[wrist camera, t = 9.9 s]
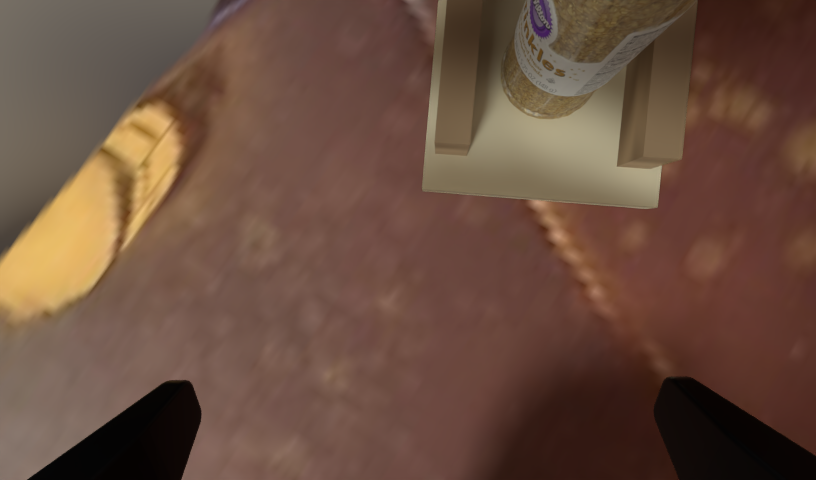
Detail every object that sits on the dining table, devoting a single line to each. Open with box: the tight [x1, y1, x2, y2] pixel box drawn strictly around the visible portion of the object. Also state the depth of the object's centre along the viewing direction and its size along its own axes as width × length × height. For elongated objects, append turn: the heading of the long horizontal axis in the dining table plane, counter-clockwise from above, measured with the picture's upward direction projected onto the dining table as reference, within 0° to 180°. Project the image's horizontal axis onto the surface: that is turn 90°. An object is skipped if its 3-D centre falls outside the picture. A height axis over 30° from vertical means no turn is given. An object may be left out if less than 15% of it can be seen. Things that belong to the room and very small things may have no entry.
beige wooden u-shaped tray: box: [422, 0, 698, 209], centre depth 18 cm, size 12×11×4 cm
